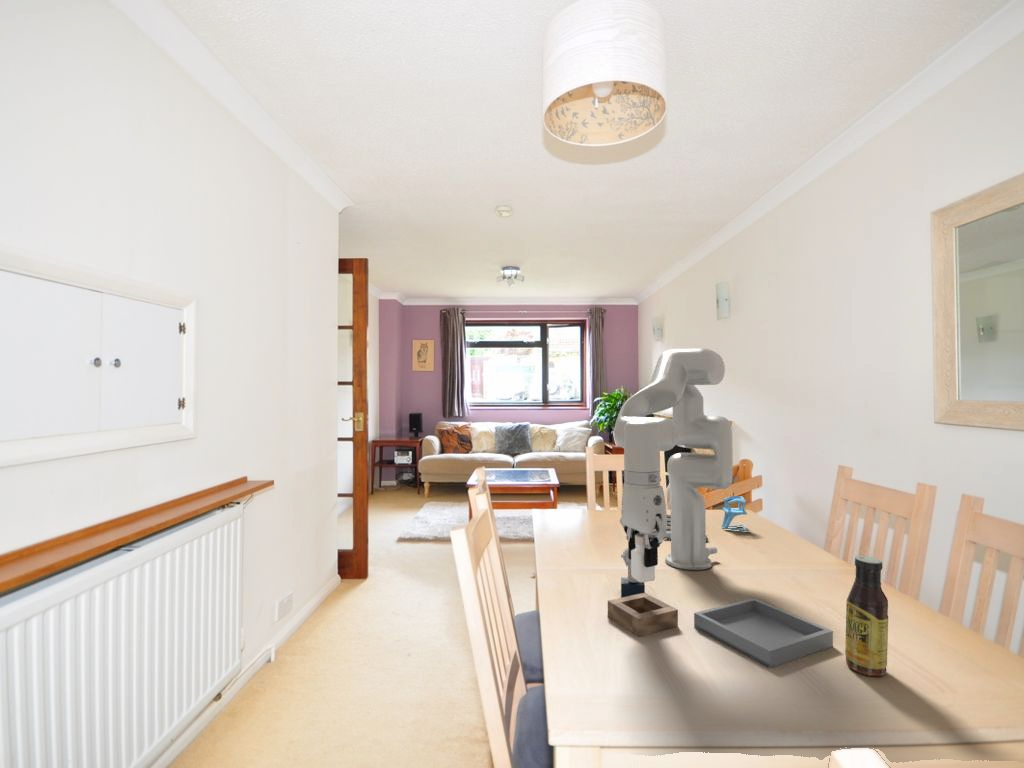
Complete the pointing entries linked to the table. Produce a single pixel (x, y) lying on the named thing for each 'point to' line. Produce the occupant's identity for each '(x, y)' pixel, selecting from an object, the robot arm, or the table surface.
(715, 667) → the table surface
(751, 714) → the table surface
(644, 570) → the salt shaker
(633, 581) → the watch
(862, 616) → the sauce bottle
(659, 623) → the shaker holder
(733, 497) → the chair
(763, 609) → the tray
